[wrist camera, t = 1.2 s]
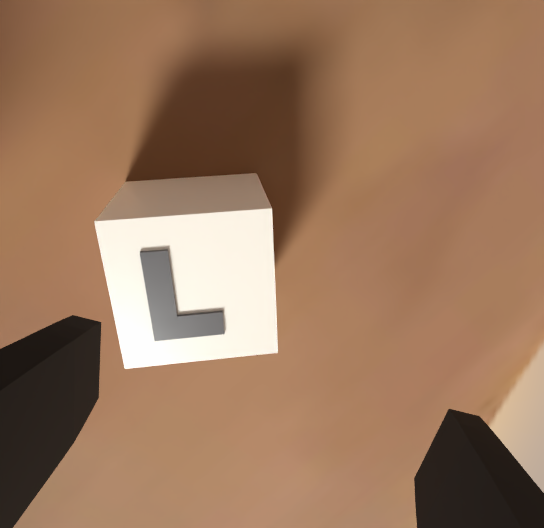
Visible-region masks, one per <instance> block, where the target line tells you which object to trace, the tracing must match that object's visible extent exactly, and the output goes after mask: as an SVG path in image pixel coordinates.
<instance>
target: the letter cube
mask: <svg viewBox="0 0 544 528" xmlns="http://www.w3.org/2000/svg"><path fill="white" fill-rule="evenodd" d="M94 223H95V227H96V232H97V237H98V242H99V247H100V251H101V256H102V261H103V266H104V271H105V275H106V280H107V285H108V290H109V295H110V299H111V304H112V309H113V314H114V319H115V323H116V328H117V333H118V338H119V343H120V348H121V352H122V357H123V362H124V367H125V369H128V368H137V367H147V366H156V365H166V364H175V363H185V362H194V361H204V360H213V359H223V358H232V357H242V356H251V355H261V354H270V353H278V342H277V317H276V292H275V268H274V243H273V219H272V207H271V205H270V202H269V200H268V198H267V196H266V193H265V191H264V189H263V187H262V184H261V182H260V180H259V178H258V175H257V173H250V174H235V175H219V176H204V177H189V178H174V179H159V180H144V181H129V182H125V183H124V184H123V185H122V187H121V188H120V189H119V190H118V192H117V193H116V194H115V196H114V197H113V198H112V199H111V201H110V202H109V203H108V204H107V206H106V207H105V208H104V210H103V211H102V212H101V213H100V215H99V216H98V217H97V219H96V220H95V221H94Z"/></svg>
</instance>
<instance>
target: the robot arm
mask: <svg viewBox="0 0 544 528" xmlns="http://www.w3.org/2000/svg"><path fill="white" fill-rule="evenodd" d="M100 341H101V322H98V321H94V320H90V319H86V318H82V317H78V316H74V315H72V316H70V317H68V318H65V319H63V320H61V321H58V322H56V323H54V324H52V325H50V326H48V327H46V328H44V329H41V330H39V331H37V332H35V333H33V334H31V335H29V336H27V337H25V338H23V339H21V340H18V341H16V342H14V343H12V344H10V345H8V346H6V347H4V348H2V349H0V528H13V527H14V525H15V524H16V522H17V521H18V520H19V518H20V517H21V516H22V514H23V513H24V511H25V510H26V509H27V507H28V506H29V504H30V503H31V502H32V500H33V499H34V498H35V496H36V495H37V493H38V492H39V491H40V489H41V488H42V487H43V485H44V484H45V482H46V481H47V480H48V478H49V477H50V475H51V474H52V473H53V471H54V470H55V468H56V467H57V466H58V464H59V463H60V461H61V460H62V459H63V457H64V456H65V454H66V453H67V451H68V450H69V449H70V447H71V446H72V444H73V443H74V441H75V440H76V438H77V436H78V434H79V433H80V431H81V429H82V427H83V426H84V424H85V422H86V420H87V418H88V416H89V415H90V413H91V411H92V409H93V407H94V405H95V403H96V402H97V400H98V398H99V370H100ZM414 481H415V502H416V517H417V528H544V493H543V492H542V491H541V489H540V488H539V487H538V486H537V485H536V483H535V482H534V481H533V480H532V479H531V477H530V476H529V475H528V474H527V472H526V471H525V470H524V469H523V467H522V466H521V465H520V464H519V463H518V461H517V460H516V459H515V458H514V456H513V455H512V454H511V453H510V452H509V450H508V449H507V448H506V447H505V446H504V444H503V443H502V442H501V441H500V439H499V438H498V437H497V436H496V435H495V434H494V432H493V431H492V430H491V429H490V428H489V426H488V425H487V424H486V423H485V422H484V421H483V420H482V419H481V418H480V416H476V415H472V414H468V413H464V412H460V411H456V410H452V409H449V410H448V412H447V414H446V416H445V418H444V420H443V422H442V424H441V426H440V428H439V430H438V432H437V434H436V436H435V438H434V440H433V442H432V444H431V446H430V448H429V450H428V452H427V454H426V456H425V458H424V460H423V462H422V464H421V466H420V468H419V470H418V472H417V474H416V476H415V478H414Z"/></svg>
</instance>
